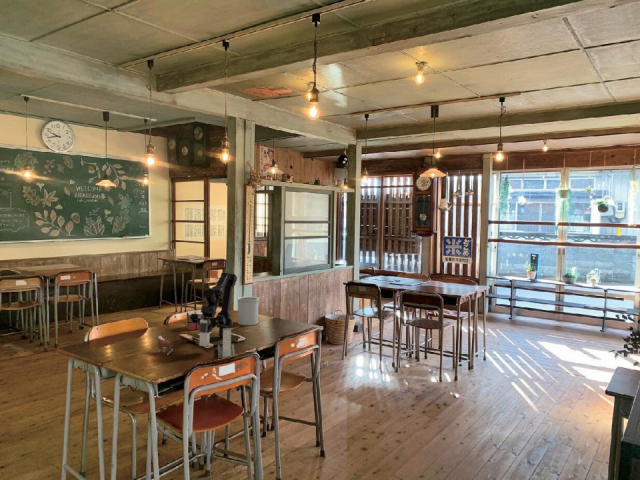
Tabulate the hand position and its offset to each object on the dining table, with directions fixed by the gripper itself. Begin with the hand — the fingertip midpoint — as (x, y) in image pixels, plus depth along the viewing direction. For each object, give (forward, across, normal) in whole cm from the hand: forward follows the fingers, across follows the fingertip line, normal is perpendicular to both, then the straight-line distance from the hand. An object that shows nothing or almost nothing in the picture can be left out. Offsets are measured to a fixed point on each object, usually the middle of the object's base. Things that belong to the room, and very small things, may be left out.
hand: (203, 332), depth 252 cm
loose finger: (+4, 0, +6) cm, 7 cm away
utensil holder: (-43, +4, +60) cm, 74 cm away
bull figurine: (+11, -21, +6) cm, 24 cm away
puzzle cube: (-28, -25, +45) cm, 59 cm away
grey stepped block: (+6, +12, +10) cm, 17 cm away
